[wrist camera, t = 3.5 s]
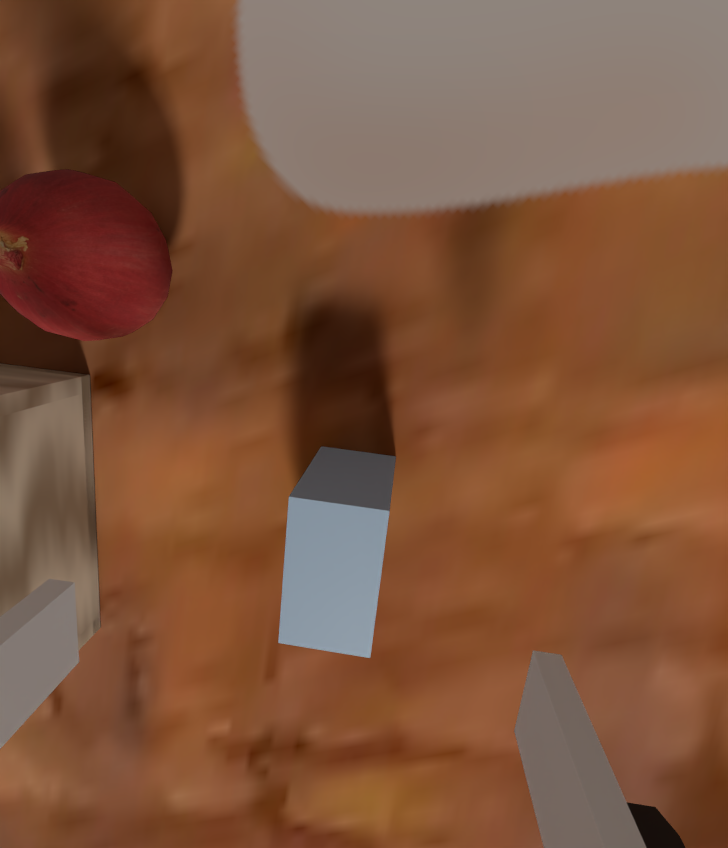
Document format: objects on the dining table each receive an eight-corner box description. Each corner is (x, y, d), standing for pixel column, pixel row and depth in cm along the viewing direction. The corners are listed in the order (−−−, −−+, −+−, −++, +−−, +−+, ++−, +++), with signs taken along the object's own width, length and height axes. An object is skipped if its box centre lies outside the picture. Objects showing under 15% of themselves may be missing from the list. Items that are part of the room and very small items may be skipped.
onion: (95, 339, 22) (-75, 360, 14) (63, 206, 21) (-145, 149, 13) (215, 326, 21) (102, 340, 14) (190, 186, 20) (49, 114, 12)
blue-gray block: (321, 446, 22) (289, 496, 17) (395, 456, 22) (389, 510, 16) (311, 560, 24) (278, 642, 18) (380, 570, 24) (370, 658, 18)
